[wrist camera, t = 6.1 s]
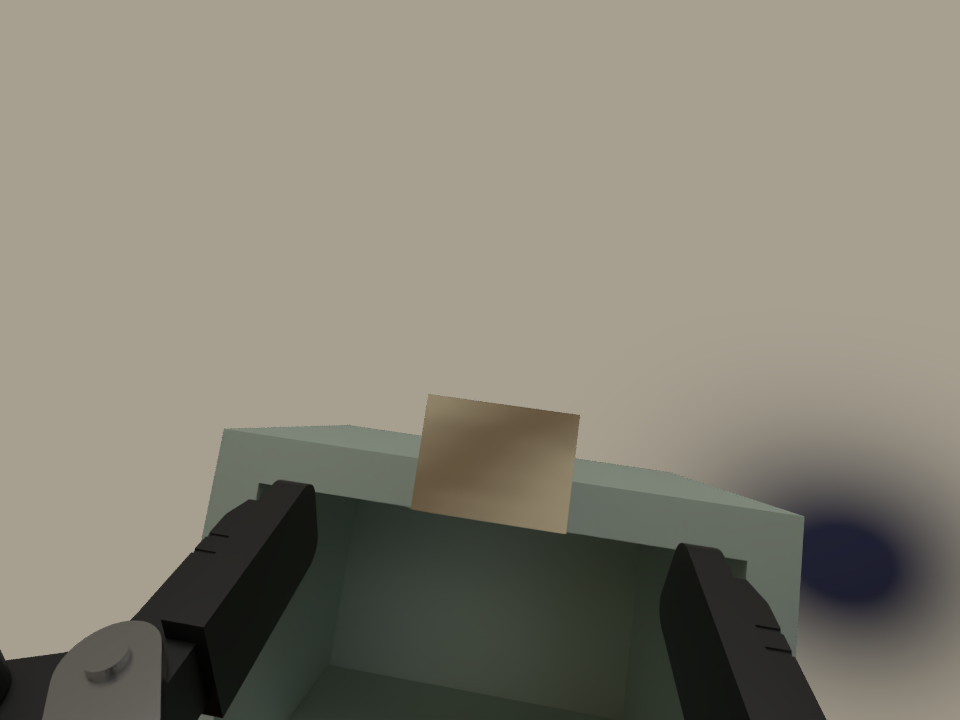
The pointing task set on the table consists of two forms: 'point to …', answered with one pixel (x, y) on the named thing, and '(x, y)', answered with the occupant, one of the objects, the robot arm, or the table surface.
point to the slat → (496, 463)
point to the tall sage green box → (484, 588)
